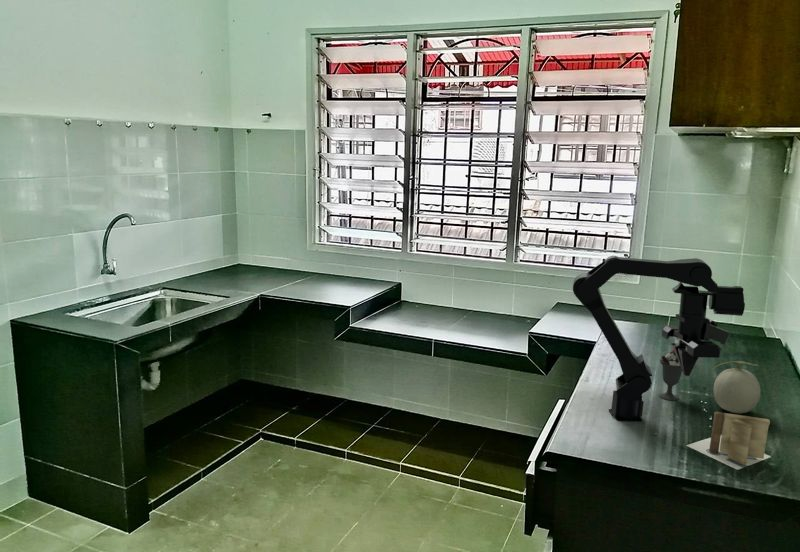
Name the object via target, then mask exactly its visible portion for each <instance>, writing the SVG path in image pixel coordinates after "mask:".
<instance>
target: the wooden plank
mask: <svg viewBox="0 0 800 552" xmlns="http://www.w3.org/2000/svg"><path fill="white" fill-rule="evenodd" d="M712 420H713V421H712V429H711V437H710V438H711V442H710V449H709V452H711V453H713V454H718V451H719V444H720V437H721V435H722V429H723V422H724V412H721V411H715V412H714V415H713V419H712ZM732 423H733V424H732V431H731V438H730V445H729V452H728V458H730V459H732V460H734V461H737V462H739V463H741V464H743V465H744V464H746V462H747V456H748V449H749V442H750V436H751V429H752V428H753V425H750V424H748V423H745V422H743V421H740V420H738V419H734V420H732Z"/></svg>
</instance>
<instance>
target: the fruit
mask: <svg viewBox="0 0 800 552" xmlns="http://www.w3.org/2000/svg"><path fill="white" fill-rule="evenodd" d="M727 364H728V365H729V364H735V366H736V367H733V368H727V369H725V370H723V371H721V372H720V373H719V374H718V375H717V376H716V378H715V380H714V384H713V395H714V399H715V402H716V403H717V405H718V406H719V407H720V408H721V409H723V410H725V411H726V412H729V413H731V414H737V415H741V414H746V413H748V412H750V411H752V410H753V409H754V408H756V406H757V405H758V402H759V400H760V398H761V386H760V382H759V380H758V378H756V377H755V375H754V374H752V373H751V372H750V371H749V370H746V369H743V368H741V365H748V366H754V367H759V364H754V363H750V362H746V361H742V360H741V361H740V360H735V361H734V360H732V361H727V362H721V363H719V364H717V365H715V366H714V367H712V370H715V369H716V368H718V367H721V366H724V365H727Z"/></svg>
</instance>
